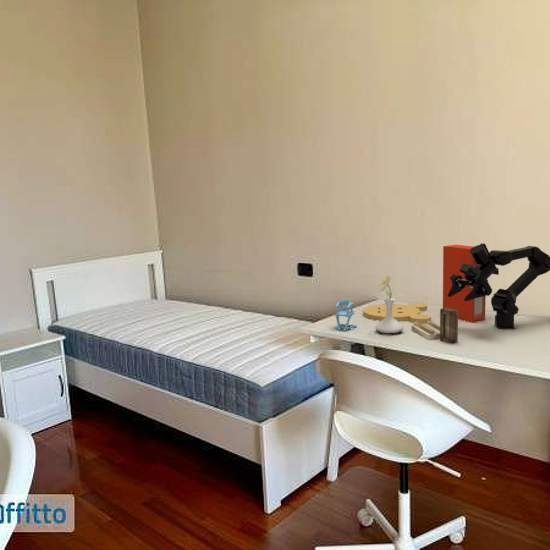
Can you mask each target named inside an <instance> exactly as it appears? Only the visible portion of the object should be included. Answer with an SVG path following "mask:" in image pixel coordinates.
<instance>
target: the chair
mask: <svg viewBox="0 0 550 550" xmlns="http://www.w3.org/2000/svg"><path fill="white" fill-rule="evenodd" d="M354 305H355V303H353V302H352V301H349V300H348V299H347V300H344V299H343V300H342V301H338V302H337V303H336V304H335V309H336V312H335V313H334V316H335V319H336V325H337V331H338V330H340V331H341V330H342V327H344V328H343V332H347V331H346V330H348V329H350V330H352V329H351V328H353V329H356V328H357V324H349V322H350V320H351V318H352V316H353V315H354V314H355V311H354V310H353V308H354ZM339 306H340V307H339ZM343 306H347V308H346V309H347V310H343ZM338 307H339V308H340V310H339V309H338ZM340 317H346V318H347V321H346V323H341V322H340ZM341 325H343V326H341ZM348 326H351V327H348ZM355 327H356V328H355ZM348 331H349V330H348Z"/></svg>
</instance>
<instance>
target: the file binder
mask: <svg viewBox="0 0 550 550" xmlns="http://www.w3.org/2000/svg"><path fill="white" fill-rule="evenodd" d="M472 247H475V246H473V245H463V244H450V245H449V244H448V245H443V247H442V251H443V252H442V254H443V255H442V308H449V309H453V310H458V320H460V319H461V321H464V320H465V322H467V321H468V323H471V322H472V323H471V324H474V323H478V321H479V322H483V321H485V320H486V300H487V299H486V296H485V297H484V296H483V297H479V298H475V299H472V300H469V301H464V298H465V297H466V296H467V295H468V294H469V293H470V291H471V290H472V289H473V288H471V287H470V286H465V288H464V289H461V290H462V291H460V292H459V293H457V294H455V295H453V296H451V297H448V293H449V291H450V289H451V287H452V282H451V279H450V277H451V276H452V275H459V276H462V278H463V280H466V278H465V277H464V275H465V274H464V273H462V272H460V271H459V269H460V267H461V266H462V264H463V263H464V264H470V265H478V266H480V264H476V263H475V261H474V259H473V257H472V256H471V254H470V252H469V251H470V249H471V248H472ZM473 322H474V323H473Z"/></svg>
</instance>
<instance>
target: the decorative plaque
mask: <svg viewBox="0 0 550 550" xmlns="http://www.w3.org/2000/svg"><path fill="white" fill-rule="evenodd" d="M426 310H428V304H425V303H421V302H414V303H412V302H411V303H408V304H407V305H405V304H400V303H399V304H397V303H396V304H394V303H393V306H392V316H393V318H394V319H395V320H397V321H403V322H410V323H412V324H414V322H418V323H420V324H422V325H423V324H427V321H431V322H432V316H431V315H429V314H426V313H421V312H420V311H423V312H426ZM386 313H387V310H386V304H383V303H382V304H373V305H369V306H366V307H364V308H363V309H362V316H363V317H364V318H366V319H368V318H369V319H368V320H371V319H373V320H372V321H376V320H379V321H378V322H380V321H382V320H383V319H384V318H385V317H386Z"/></svg>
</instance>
